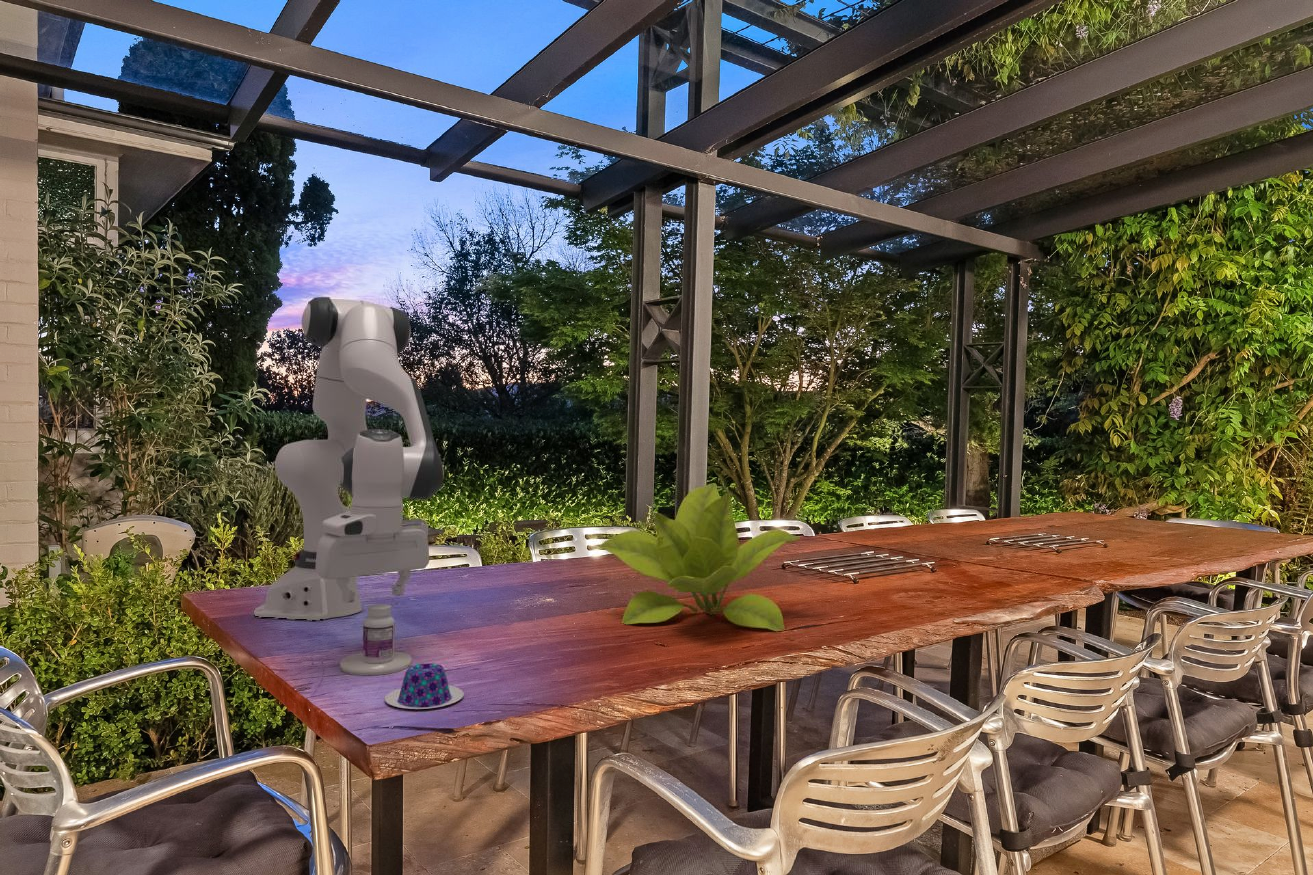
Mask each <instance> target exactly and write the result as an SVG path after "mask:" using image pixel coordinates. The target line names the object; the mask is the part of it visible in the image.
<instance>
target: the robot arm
mask: <svg viewBox="0 0 1313 875" xmlns="http://www.w3.org/2000/svg"><path fill="white" fill-rule="evenodd" d="M301 328H302V332H303V336H304V338H305V339H306V341H307V342H308V343H310V344H312V345H315V346H317V347H320V348H321V352H320V356H319V359H318V363H317V367H316V368H317V369H316V370H317V371H316V376H315V382H314V392H313V397H312V399H313V400H312V410H313V414H314V415H315V416H317V418H318V419H320V420H321V421H322V422H324V423H325V424H326V425H325V426H326V428H327V435H328V436H327V439H303V440H300V441H299V440H298V441H294V442H290V443H287V444H285V445H284V446H282V447H281V448H280V449H279V450H278V453H277V454H276V457H275V460H274V461H275V462H274V470H275V474H276V476H277V478H278V480H279V481H280V483H281V484H283V486H285V487H286V488H288V489H289V490H290V491H291V492H292V493H293V496H294V497H295V498H296V500H297V503H298V505H299V507H300V510H301V514H302V522H303V523H302V524H303V548H302V549H300V550H298V551H297V552H296V553H294V555H292V557H293V558H292V561H294V565H295V566H293V567H292V568H291V569H290V570H288V571H286V572H285V573H284V574H283V575H282V576H280V577H279V578H278V579H276V580H275V581H274V582H272V583H271V584H270V585H269V587H268V588H267V592H266V596H265V601H264V603H263V604H261V605H259V606H258V607H256V608H255V609H254V611H253V616H254V615H255V616H259V617H258V618H261V617H276V618H275V619H278V618H287V619H286V620H295V619H307V620H306V621H312V620H316V621H321V620H320V619H323V620H326V619H327V620H328V619H333V618H339V617H346V616H350V615H354V614H357V613H359V612H361V611H362V610H363V606H362V604H361V598H360V594H359V589H358V588H359V587H358V580H357V577H362V576H371V575H380V574H387V573H388V574H390V573H397V575H398V576H399V577H398V579H397V582H396V583H395V584H391V594H392V596H395V597H398V596H404V595H405V586H406V584H407V583H408V581H409V579H410V578H411V571H415V570H423V569H426V568H427V566H428V565H429V563H430V548H429V541H428V538H429V525H428V524H427V522H426V521H424V520H422V519H421V518H413V519H411V518H410V519H409V518H408V519H407V518H403V516H404V515H403V513H404V512H403V511H404V501H403V499H404V498H405V499H407V498H408V499H409V500H410V499H411V500H422V501H423V500H424V501H427V500H428V499H429V498H431V497H433V496H434V495H435V494H437V492H439V490H440V489H441V488H442V487H443V485H444V484H443V483H444V476H445V473H444V472H445V471H444V465H443V462H442V459H441V455H440V452H439V451H438V448H437V445H436V442H435V439H434V436H433V432H432V427H431V425H430V421H429V417H428V413H427V410H426V406H425V403H424V399H423V397H422V393H421V390H420V387H419V384H418V383H417V380H416V379H415V378H414V377H412V376H411V375H409V374H408V373H406V371H405V370H404V368H403V366H402V365H401V363H400V362H399V358H398V355H399V354H400V353H402V352H404V351H405V350H406V349H407V345H408V344H409V341H410V338H411V331H412V330H411V323H410V318H409V317H408V315H407V313H406V312H405V311H403V310H401V309H398V308H396V307H393V306H390V307H388V306H385V305H381V304H378V303H375V302H370V301H365V300H359V301H358V300H350V299H345V298H344V299H343V298H341V299H340V298H331V297H330V296H317V297H313V298H312V299H311V300H309V301H308V303H307V305H306V307H305V308H304V310H303V313H302V316H301ZM367 400H369V401H372V402H376V403H378V404H381V405H383V406H386V407H388V408H390V409H392V410H394V412H397V413H398V414H399V415H400V416H401V418H402V419H403V421H404V426H405V429H406V432H407V437H408V441H409V445H410V446H406V447H405V446H404V444H403V439H402V436H401V435H400V434H399V433H398V432H396V431H393V430H389V429H382V428H381V429H379V428H370V429H368V426H367V420H366V409H367V408H366V407H367ZM338 488H342V489H343V490H344V491H345V492H347V493H348V494H350V495H351V496H352V498H351V501H350V507H348V506H346V505H344V504H343V502H342V501H341V499H340V496H339V490H338ZM255 616H254V617H255Z"/></svg>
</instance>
